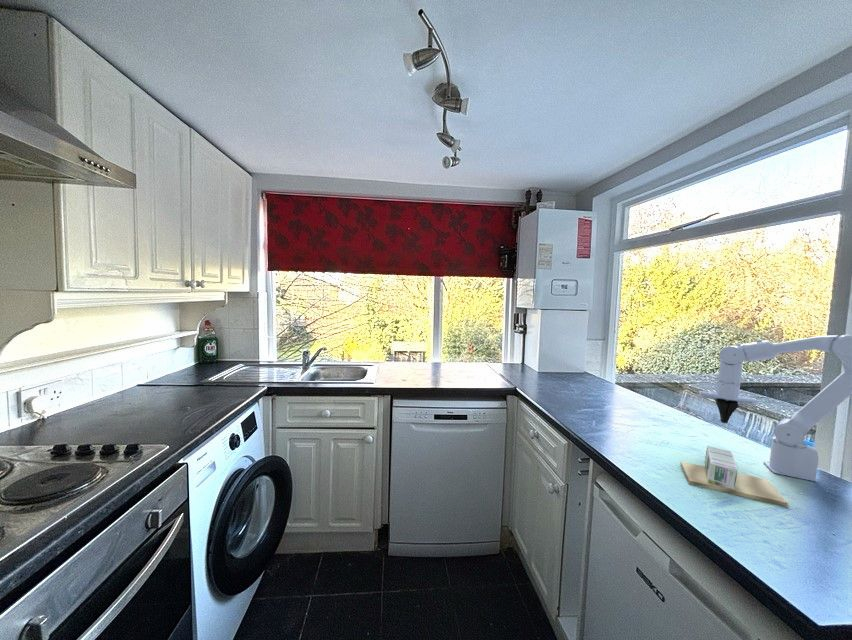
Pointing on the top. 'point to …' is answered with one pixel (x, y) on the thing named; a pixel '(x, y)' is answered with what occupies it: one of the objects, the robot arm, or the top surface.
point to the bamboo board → (736, 485)
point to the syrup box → (720, 467)
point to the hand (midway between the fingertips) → (723, 422)
